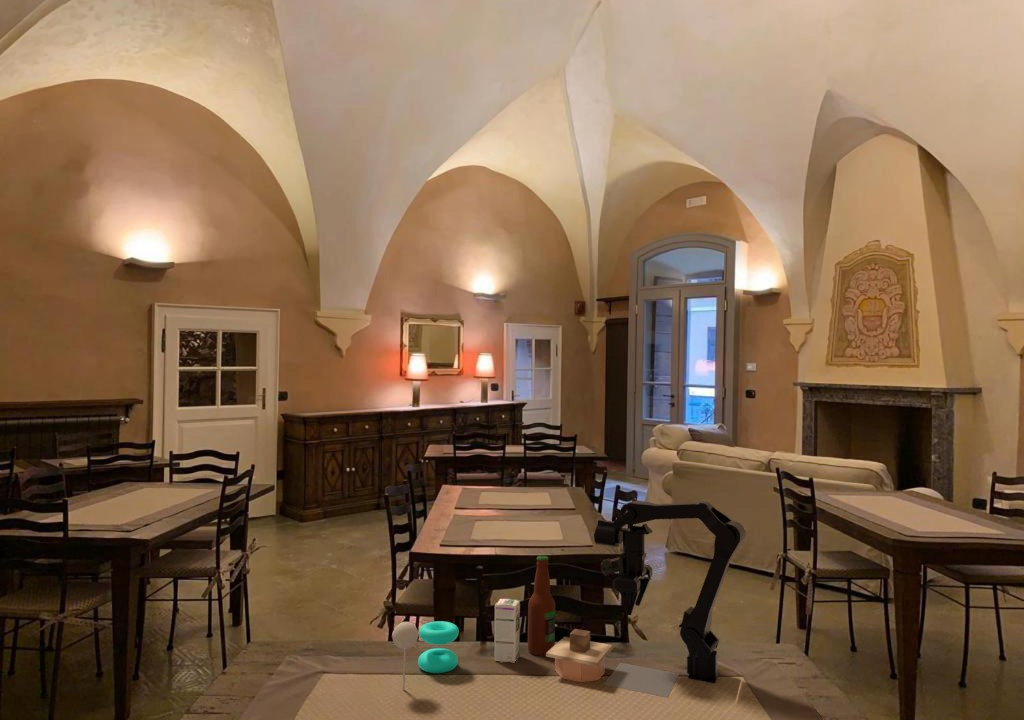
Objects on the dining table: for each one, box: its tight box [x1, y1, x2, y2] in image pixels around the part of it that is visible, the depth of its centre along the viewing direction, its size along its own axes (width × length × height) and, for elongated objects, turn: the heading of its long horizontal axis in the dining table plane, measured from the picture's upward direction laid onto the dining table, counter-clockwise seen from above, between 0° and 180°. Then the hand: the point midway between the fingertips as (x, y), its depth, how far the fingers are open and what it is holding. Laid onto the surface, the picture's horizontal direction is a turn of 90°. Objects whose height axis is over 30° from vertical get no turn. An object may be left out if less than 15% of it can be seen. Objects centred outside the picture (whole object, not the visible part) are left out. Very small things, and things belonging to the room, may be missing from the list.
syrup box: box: [493, 598, 521, 662], centre depth 165 cm, size 6×6×14 cm
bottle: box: [527, 555, 556, 657], centre depth 171 cm, size 7×7×25 cm
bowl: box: [554, 657, 606, 683], centre depth 157 cm, size 11×11×5 cm
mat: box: [603, 662, 680, 699], centre depth 153 cm, size 15×15×1 cm
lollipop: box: [391, 621, 420, 691], centre depth 146 cm, size 6×6×15 cm
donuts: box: [417, 620, 460, 674], centre depth 159 cm, size 10×10×10 cm
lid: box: [545, 628, 614, 666], centre depth 157 cm, size 13×13×5 cm
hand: (633, 610), depth 166 cm, fingers open, 9 cm apart
